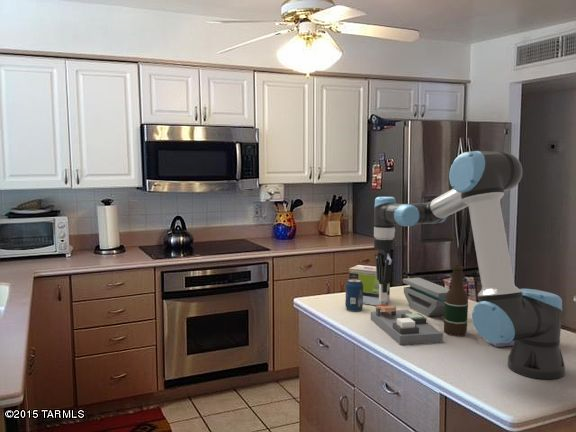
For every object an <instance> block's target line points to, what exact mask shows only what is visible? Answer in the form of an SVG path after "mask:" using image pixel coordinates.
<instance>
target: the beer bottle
mask: <svg viewBox="0 0 576 432" xmlns="http://www.w3.org/2000/svg"><path fill="white" fill-rule="evenodd" d="M451 269H452V275H451V285H450V288H449V289H450V290H449V291H448V292H447V294H446V297H445V311H444V315H443V332H444V333H445V334H446V335H448V336H454V337H462V336H463V337H464V336H466V334H467V330H468V315H469V313H468V312H469V311H468V309H469V298H468V293H467V292H466V290H465V289H464V288H465V287H464V277H463V276H464V275H463V274H464V272H463V270H464V266H463V265H461V264H454V265H453V266H452V267H451Z"/></svg>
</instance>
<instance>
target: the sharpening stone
mask: <svg viewBox="0 0 576 432" xmlns="http://www.w3.org/2000/svg"><path fill="white" fill-rule="evenodd" d="M402 283H403V284H405V285H408V286H405V287H403V294H404V296H405V298H406V301H407V303H408V305H409V307H410V309H411V310H413V311H414V312H416V313H419V314H420V315H422V316H424V317H425V316H426V317H434V316H437V317H438V316H444V311H445V297H446V294H447V292H448V291H449V290H450V288H447V287H445V286H443V285H440V284H438V283H437V284H436V283H435V282H431V281H430V280H427V279H424V278H421V277H410V278H402Z"/></svg>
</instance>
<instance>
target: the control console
mask: <svg viewBox="0 0 576 432" xmlns="http://www.w3.org/2000/svg"><path fill="white" fill-rule="evenodd" d="M392 307H395V305H394V306H392ZM412 313H413V312H412V311H410V309H400V310H399V309H396V311H392V312H383V311H380V308H379V307H376V306H375V311H370V320H371V321H372V322H373V323H374V324H375V325H376V326H378V327H379V329H381V330H382V331H384V333H386V334H387V335H388V336H389V337H390V338H391V339H393V340H394V341H395V342H396V343H397V344H398V345H400V346H404V345H419V344H435V343H443V335H444V334H443V332H441V331H440V330H438V329H437V328H435V327H434V326H433V325H431V324H430V323H428V322H427V318H426V317H425V316H424V315H423V314H421V313H419V312H416V313H417V314H419V315H420V316H422V317H423V318H420V319H412V320H413V321H415V328H401V327H400V326H398V325H397V318H408V317H406V316H405V314H412Z"/></svg>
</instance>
